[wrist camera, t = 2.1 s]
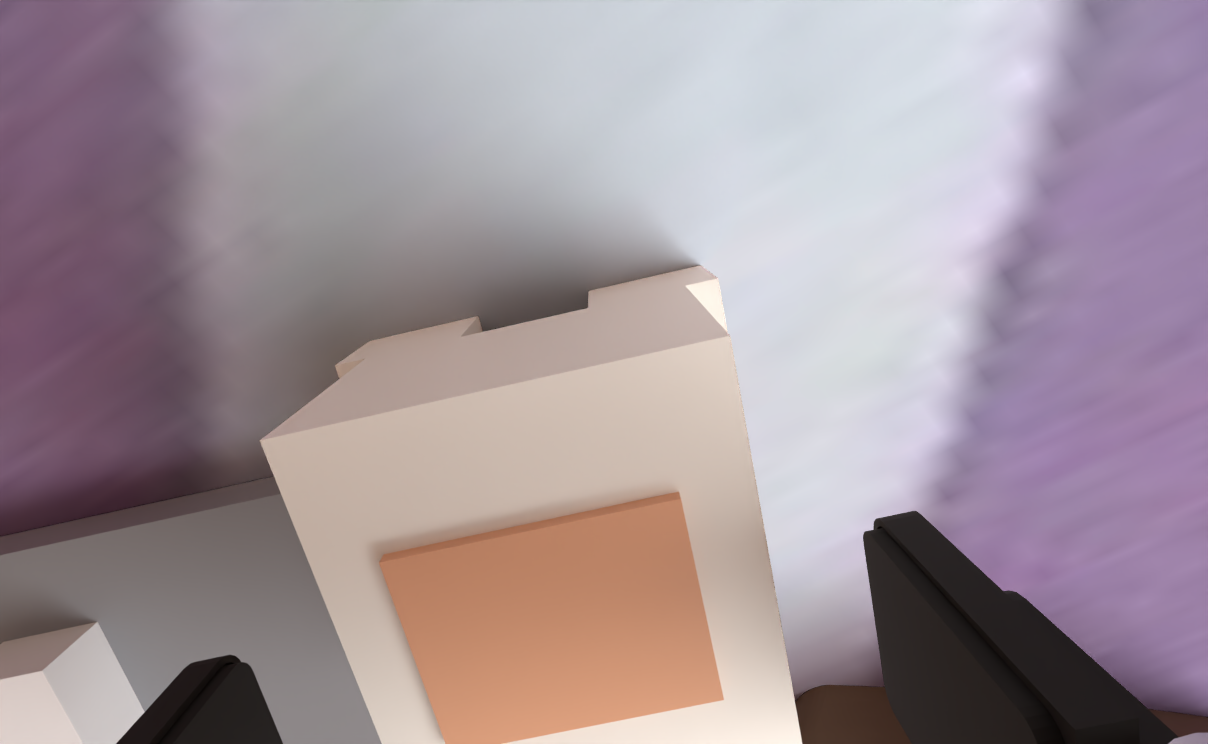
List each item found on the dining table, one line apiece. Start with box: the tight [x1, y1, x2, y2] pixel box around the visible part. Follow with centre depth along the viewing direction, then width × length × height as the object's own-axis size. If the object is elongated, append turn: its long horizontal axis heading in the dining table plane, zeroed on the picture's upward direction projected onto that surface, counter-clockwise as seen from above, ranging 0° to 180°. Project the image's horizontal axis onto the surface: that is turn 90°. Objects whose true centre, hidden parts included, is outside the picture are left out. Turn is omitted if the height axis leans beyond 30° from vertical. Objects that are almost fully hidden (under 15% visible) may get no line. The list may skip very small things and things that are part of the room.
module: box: [260, 265, 802, 744], centre depth 12 cm, size 7×7×6 cm
